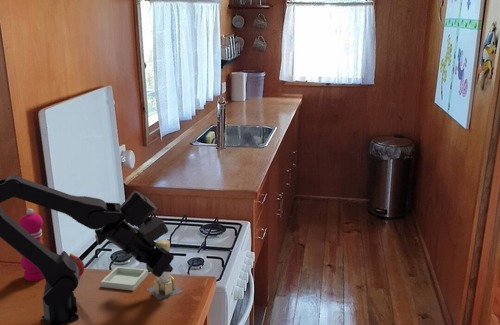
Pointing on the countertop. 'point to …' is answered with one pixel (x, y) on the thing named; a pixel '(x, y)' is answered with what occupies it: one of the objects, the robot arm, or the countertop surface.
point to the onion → (78, 264)
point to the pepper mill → (33, 226)
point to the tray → (124, 278)
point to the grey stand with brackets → (169, 289)
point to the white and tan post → (166, 275)
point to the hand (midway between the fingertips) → (168, 267)
